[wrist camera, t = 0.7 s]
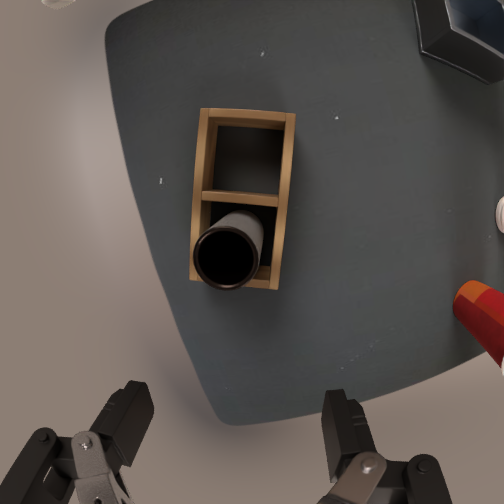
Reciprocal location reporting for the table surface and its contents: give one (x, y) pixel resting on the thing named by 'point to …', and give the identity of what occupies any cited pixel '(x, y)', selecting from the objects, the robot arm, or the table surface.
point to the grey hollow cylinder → (229, 251)
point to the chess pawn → (500, 215)
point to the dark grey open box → (463, 35)
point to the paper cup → (482, 317)
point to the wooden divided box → (206, 193)
